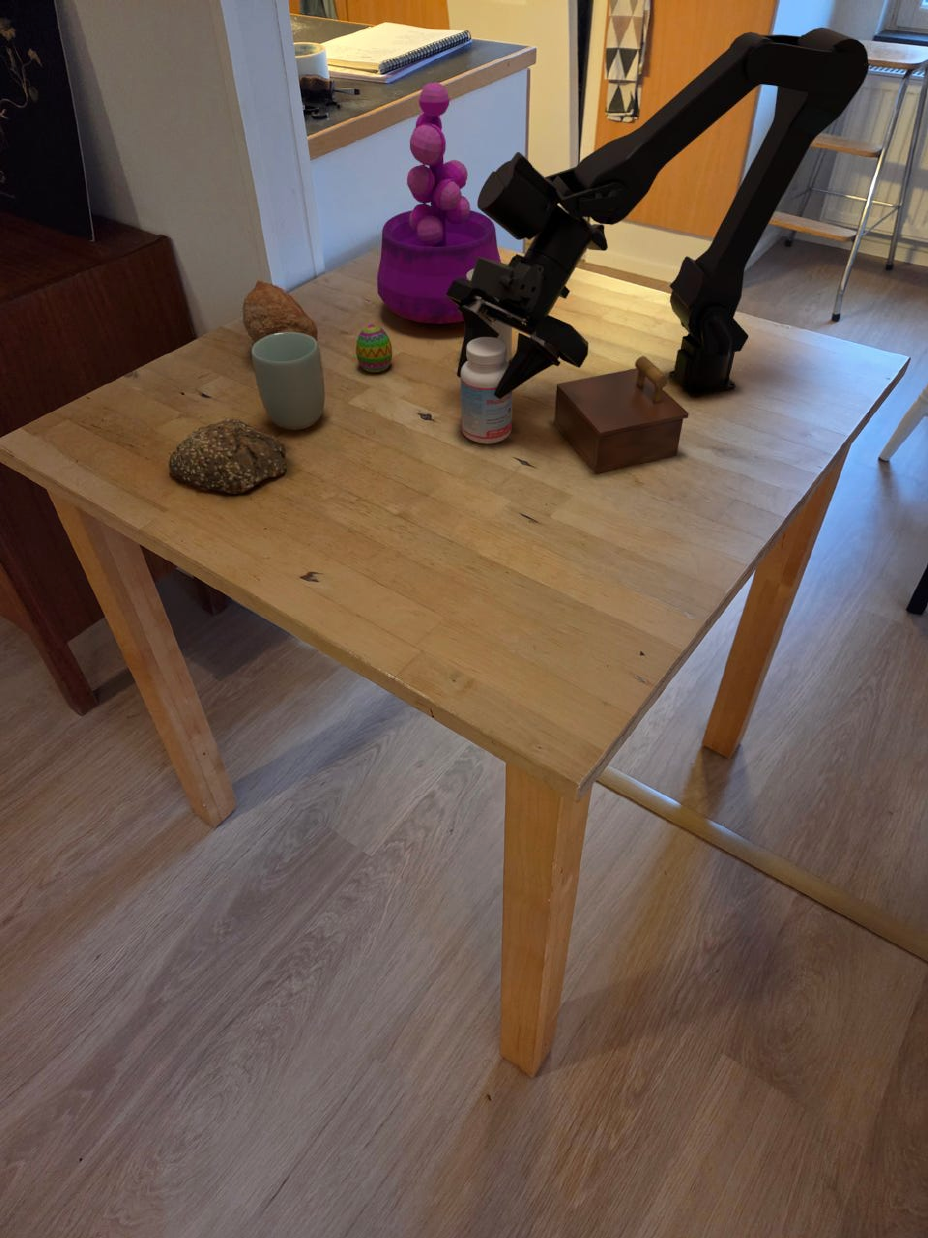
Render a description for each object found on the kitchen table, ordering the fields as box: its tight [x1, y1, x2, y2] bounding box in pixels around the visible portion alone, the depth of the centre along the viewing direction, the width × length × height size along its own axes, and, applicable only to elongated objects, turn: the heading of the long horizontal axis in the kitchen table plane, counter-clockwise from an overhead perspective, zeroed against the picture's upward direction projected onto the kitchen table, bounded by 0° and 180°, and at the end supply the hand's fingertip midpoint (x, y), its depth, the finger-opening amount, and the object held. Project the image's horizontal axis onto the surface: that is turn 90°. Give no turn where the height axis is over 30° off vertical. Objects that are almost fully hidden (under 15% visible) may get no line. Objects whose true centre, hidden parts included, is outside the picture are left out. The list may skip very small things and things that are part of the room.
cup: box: [250, 332, 326, 431], centre depth 103 cm, size 8×8×10 cm
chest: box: [553, 388, 684, 474], centre depth 101 cm, size 11×12×5 cm
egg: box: [355, 323, 393, 374], centre depth 114 cm, size 5×5×6 cm
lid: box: [555, 355, 690, 437], centre depth 98 cm, size 11×12×4 cm
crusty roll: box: [242, 279, 318, 344], centre depth 115 cm, size 10×13×10 cm
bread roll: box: [168, 417, 287, 495], centre depth 98 cm, size 13×12×5 cm
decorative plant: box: [376, 82, 502, 325], centre depth 118 cm, size 19×18×30 cm
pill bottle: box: [460, 337, 513, 445], centre depth 100 cm, size 6×6×11 cm
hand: (477, 387), depth 98 cm, fingers closed on pill bottle, 6 cm apart
